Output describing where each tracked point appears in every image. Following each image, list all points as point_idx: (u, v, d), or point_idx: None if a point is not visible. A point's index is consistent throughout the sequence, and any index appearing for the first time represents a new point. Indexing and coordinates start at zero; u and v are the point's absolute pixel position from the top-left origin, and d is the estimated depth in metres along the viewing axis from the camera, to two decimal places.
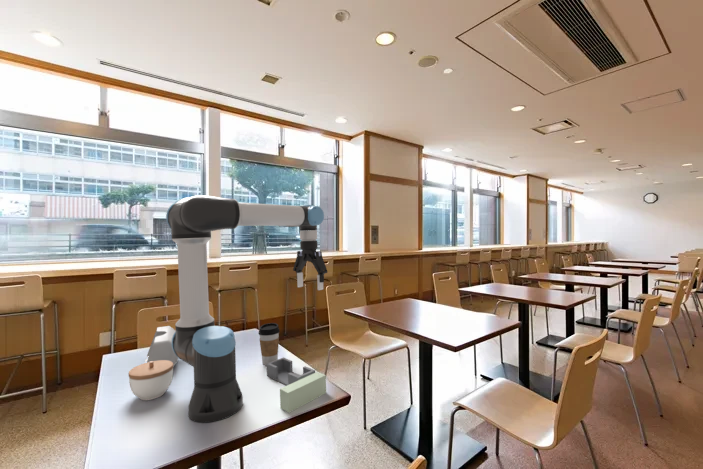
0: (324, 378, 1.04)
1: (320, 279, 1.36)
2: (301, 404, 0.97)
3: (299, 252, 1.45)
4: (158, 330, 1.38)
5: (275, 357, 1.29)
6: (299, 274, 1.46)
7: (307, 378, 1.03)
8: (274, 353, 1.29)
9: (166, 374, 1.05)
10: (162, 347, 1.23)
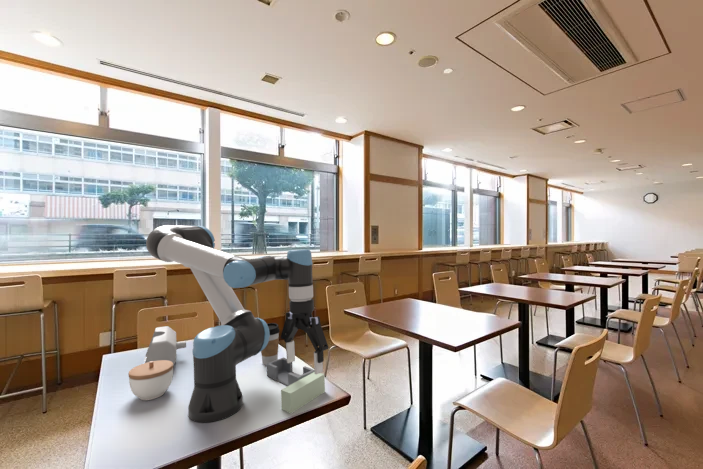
0: (323, 377, 1.05)
1: (318, 358, 0.95)
2: (302, 404, 0.97)
3: (289, 314, 1.04)
4: (156, 330, 1.38)
5: (275, 357, 1.29)
6: (289, 344, 1.04)
7: (306, 378, 1.03)
8: (274, 353, 1.29)
9: (166, 374, 1.05)
10: (160, 347, 1.23)
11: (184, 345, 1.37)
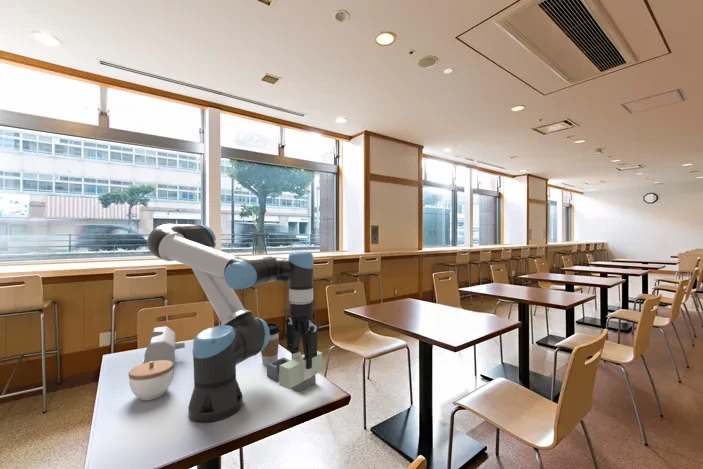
0: (321, 355, 1.05)
1: (307, 365, 0.98)
2: (300, 380, 0.98)
3: (288, 320, 1.04)
4: (155, 330, 1.38)
5: (275, 357, 1.29)
6: (295, 356, 1.02)
7: None
8: (274, 353, 1.29)
9: (166, 374, 1.05)
10: (159, 348, 1.23)
11: (183, 345, 1.36)
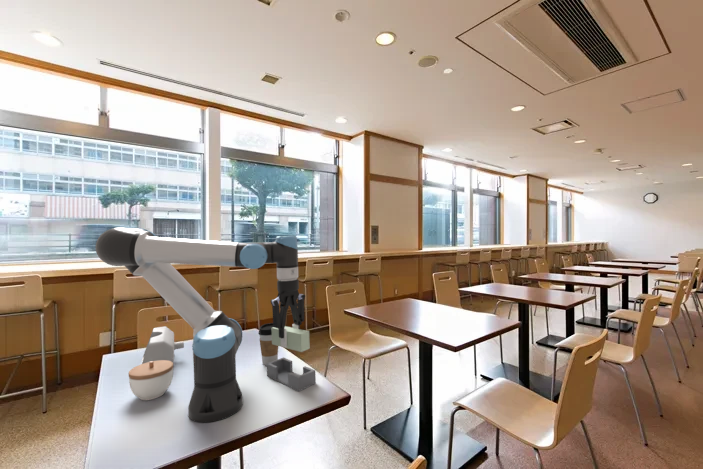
0: (299, 336, 1.09)
1: None
2: (280, 344, 1.15)
3: None
4: (154, 331, 1.37)
5: (275, 357, 1.29)
6: (293, 326, 1.17)
7: (295, 329, 1.14)
8: (274, 353, 1.29)
9: (166, 374, 1.05)
10: (158, 348, 1.23)
11: (182, 345, 1.36)
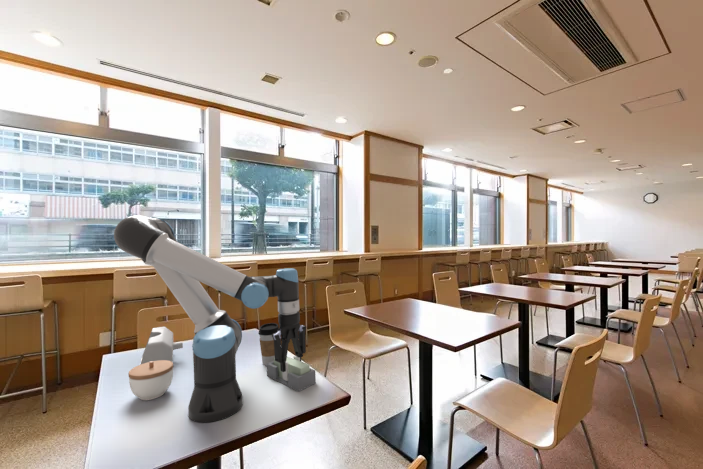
0: (299, 370, 1.09)
1: None
2: (282, 376, 1.15)
3: None
4: (153, 331, 1.37)
5: None
6: (294, 358, 1.17)
7: (296, 362, 1.14)
8: (274, 353, 1.29)
9: (166, 374, 1.05)
10: (156, 348, 1.22)
11: (181, 346, 1.36)
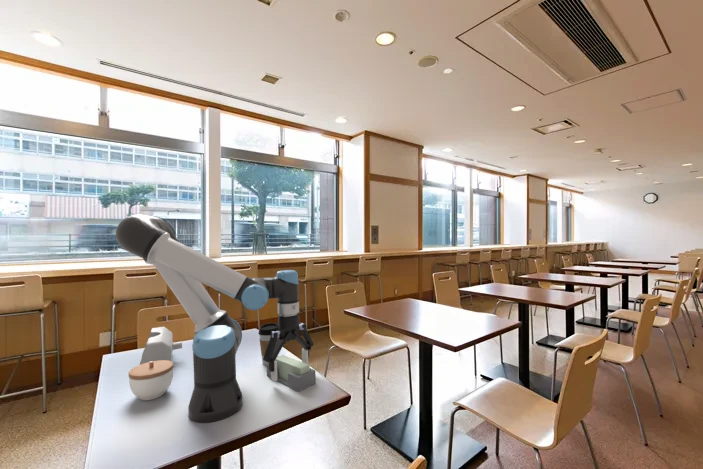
0: (299, 370, 1.09)
1: None
2: (282, 376, 1.15)
3: None
4: (152, 331, 1.37)
5: None
6: (303, 351, 1.20)
7: (296, 362, 1.14)
8: None
9: (166, 374, 1.05)
10: (155, 348, 1.22)
11: (180, 346, 1.36)
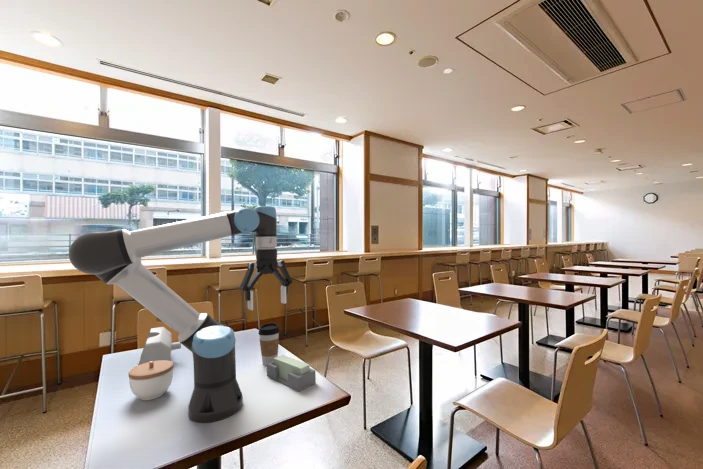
0: (299, 370, 1.09)
1: None
2: (282, 376, 1.15)
3: None
4: (151, 331, 1.37)
5: (275, 357, 1.29)
6: (281, 288, 1.23)
7: (296, 362, 1.14)
8: (274, 353, 1.29)
9: (166, 374, 1.05)
10: (154, 348, 1.22)
11: (179, 346, 1.36)
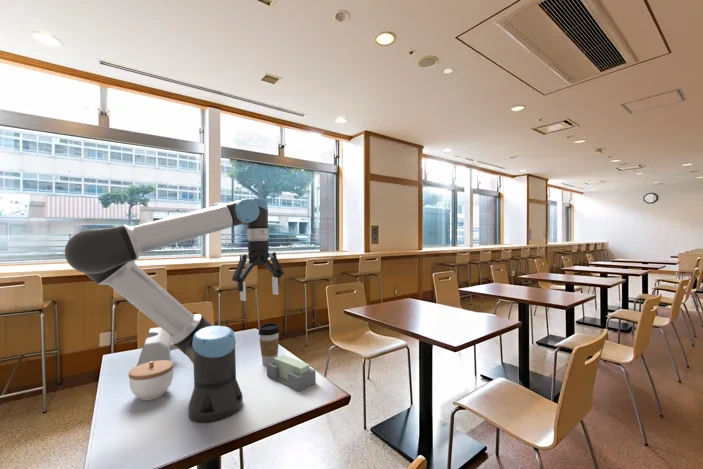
0: (299, 370, 1.09)
1: None
2: (282, 376, 1.15)
3: None
4: (150, 331, 1.37)
5: (275, 357, 1.29)
6: (273, 279, 1.25)
7: (296, 362, 1.14)
8: (274, 353, 1.29)
9: (166, 374, 1.05)
10: (153, 348, 1.22)
11: None
